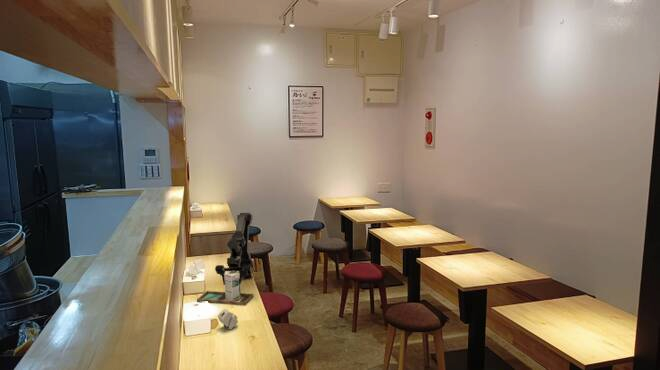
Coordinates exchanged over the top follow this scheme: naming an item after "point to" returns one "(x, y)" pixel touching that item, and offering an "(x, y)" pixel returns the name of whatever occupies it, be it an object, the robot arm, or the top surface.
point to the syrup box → (232, 285)
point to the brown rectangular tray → (214, 298)
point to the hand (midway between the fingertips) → (231, 284)
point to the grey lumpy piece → (227, 319)
